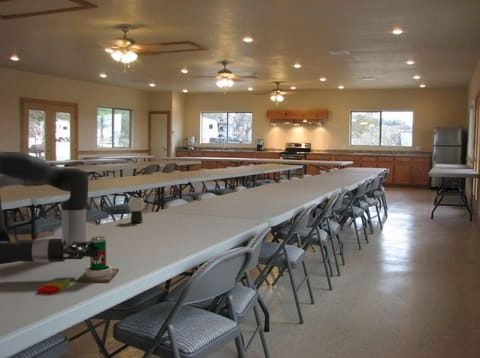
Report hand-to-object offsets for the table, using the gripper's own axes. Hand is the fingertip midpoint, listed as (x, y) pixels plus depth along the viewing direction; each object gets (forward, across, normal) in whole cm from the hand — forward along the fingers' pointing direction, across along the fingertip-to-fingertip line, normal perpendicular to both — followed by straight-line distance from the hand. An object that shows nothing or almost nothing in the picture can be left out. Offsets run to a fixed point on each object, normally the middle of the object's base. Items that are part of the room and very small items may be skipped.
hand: (100, 249), depth 154 cm
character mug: (+1, +97, +9) cm, 98 cm away
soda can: (-1, 0, +8) cm, 8 cm away
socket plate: (-1, 0, +9) cm, 9 cm away
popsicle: (-11, -9, +10) cm, 17 cm away
